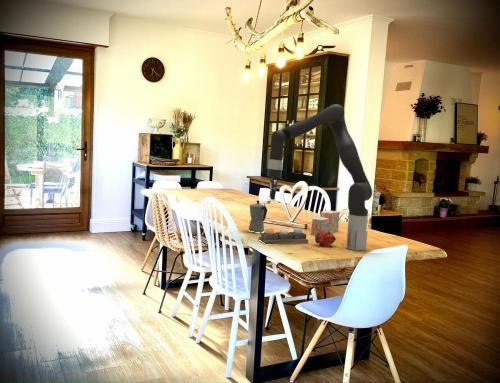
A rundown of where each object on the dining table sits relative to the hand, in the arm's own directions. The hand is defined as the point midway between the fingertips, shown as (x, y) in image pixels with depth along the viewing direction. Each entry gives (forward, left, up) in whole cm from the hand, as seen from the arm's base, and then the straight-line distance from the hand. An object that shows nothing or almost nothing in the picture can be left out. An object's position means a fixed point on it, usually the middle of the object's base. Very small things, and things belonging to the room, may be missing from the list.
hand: (272, 198), depth 247 cm
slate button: (-11, -11, -17) cm, 23 cm away
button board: (-11, -3, -21) cm, 24 cm away
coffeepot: (+14, +1, -21) cm, 25 cm away
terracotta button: (-11, +5, -17) cm, 22 cm away
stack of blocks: (+8, -39, -21) cm, 45 cm away
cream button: (-11, -3, -17) cm, 21 cm away
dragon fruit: (-22, -21, -21) cm, 37 cm away
